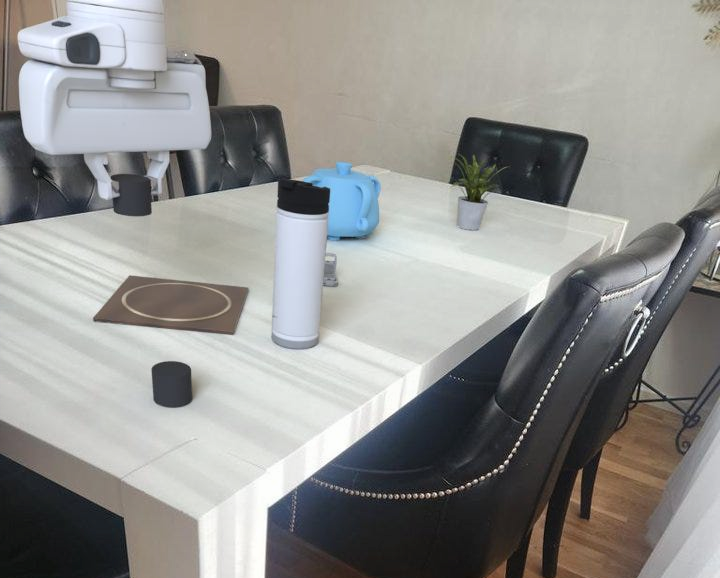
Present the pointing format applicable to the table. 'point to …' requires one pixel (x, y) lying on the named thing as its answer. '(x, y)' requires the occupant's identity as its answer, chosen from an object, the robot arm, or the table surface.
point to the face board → (175, 305)
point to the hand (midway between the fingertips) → (131, 196)
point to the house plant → (473, 195)
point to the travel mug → (299, 263)
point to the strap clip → (330, 271)
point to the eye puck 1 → (132, 195)
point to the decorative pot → (349, 200)
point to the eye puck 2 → (172, 384)
